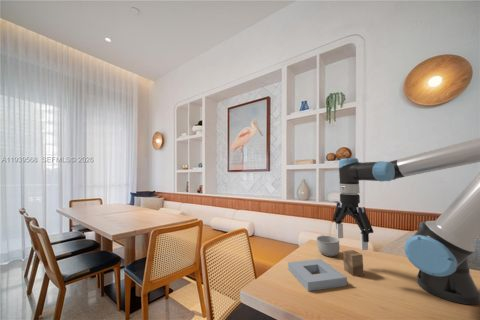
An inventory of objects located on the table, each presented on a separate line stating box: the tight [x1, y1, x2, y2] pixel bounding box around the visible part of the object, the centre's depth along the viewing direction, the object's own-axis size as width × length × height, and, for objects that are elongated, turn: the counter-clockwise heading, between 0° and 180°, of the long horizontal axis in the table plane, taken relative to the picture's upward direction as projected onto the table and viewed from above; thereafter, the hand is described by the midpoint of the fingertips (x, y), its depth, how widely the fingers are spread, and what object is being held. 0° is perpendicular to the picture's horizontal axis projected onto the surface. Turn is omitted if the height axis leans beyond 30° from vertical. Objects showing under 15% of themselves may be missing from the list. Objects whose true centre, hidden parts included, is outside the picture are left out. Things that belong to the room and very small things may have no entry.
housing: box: [287, 258, 348, 292], centre depth 78 cm, size 16×16×3 cm
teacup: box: [316, 234, 341, 257], centre depth 101 cm, size 14×11×8 cm
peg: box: [343, 249, 364, 277], centre depth 81 cm, size 5×5×8 cm
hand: (351, 243), depth 82 cm, fingers open, 13 cm apart
